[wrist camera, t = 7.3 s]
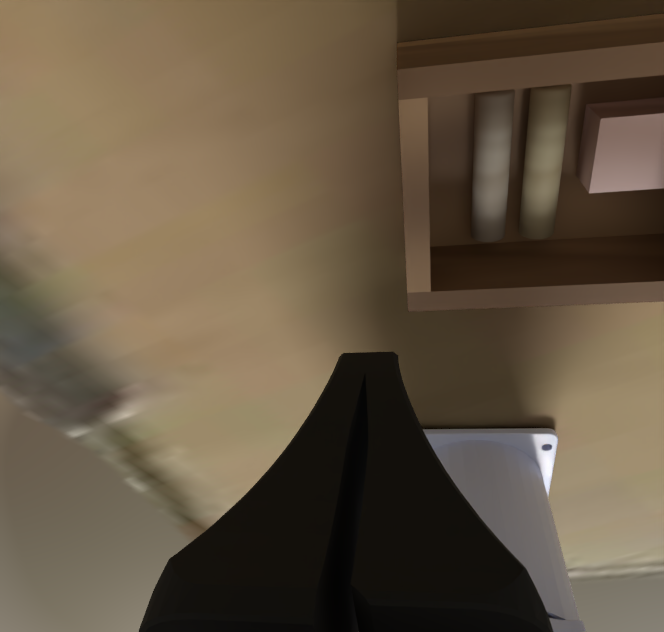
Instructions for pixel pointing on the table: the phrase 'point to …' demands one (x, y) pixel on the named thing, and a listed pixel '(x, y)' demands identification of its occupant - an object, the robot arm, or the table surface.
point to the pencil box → (534, 166)
